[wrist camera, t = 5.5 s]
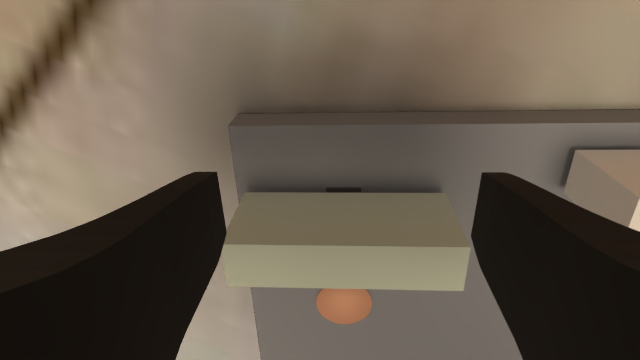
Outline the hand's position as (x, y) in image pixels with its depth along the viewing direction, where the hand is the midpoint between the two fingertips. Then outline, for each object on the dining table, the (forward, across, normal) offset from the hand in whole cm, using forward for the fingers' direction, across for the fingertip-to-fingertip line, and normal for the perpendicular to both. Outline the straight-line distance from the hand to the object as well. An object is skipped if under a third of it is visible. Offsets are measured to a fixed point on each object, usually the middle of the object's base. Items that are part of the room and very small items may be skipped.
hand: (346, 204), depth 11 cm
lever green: (+6, 0, +4) cm, 7 cm away
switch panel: (+8, -7, +8) cm, 13 cm away
